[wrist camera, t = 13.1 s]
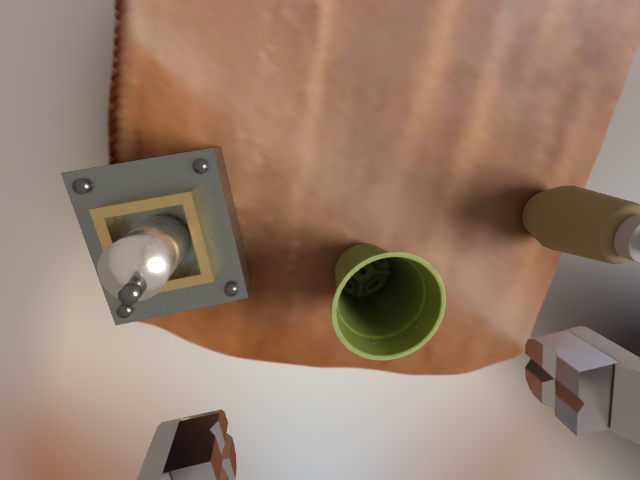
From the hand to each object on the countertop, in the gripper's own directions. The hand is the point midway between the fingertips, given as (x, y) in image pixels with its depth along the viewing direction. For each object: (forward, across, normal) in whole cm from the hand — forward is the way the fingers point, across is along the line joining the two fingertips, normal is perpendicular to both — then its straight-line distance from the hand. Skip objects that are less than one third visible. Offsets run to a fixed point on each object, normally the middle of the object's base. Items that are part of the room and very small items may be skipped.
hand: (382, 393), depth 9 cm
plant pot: (+35, -7, +11) cm, 38 cm away
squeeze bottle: (+35, -32, +8) cm, 48 cm away
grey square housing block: (+35, +14, +1) cm, 38 cm away
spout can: (+29, +14, +1) cm, 32 cm away
